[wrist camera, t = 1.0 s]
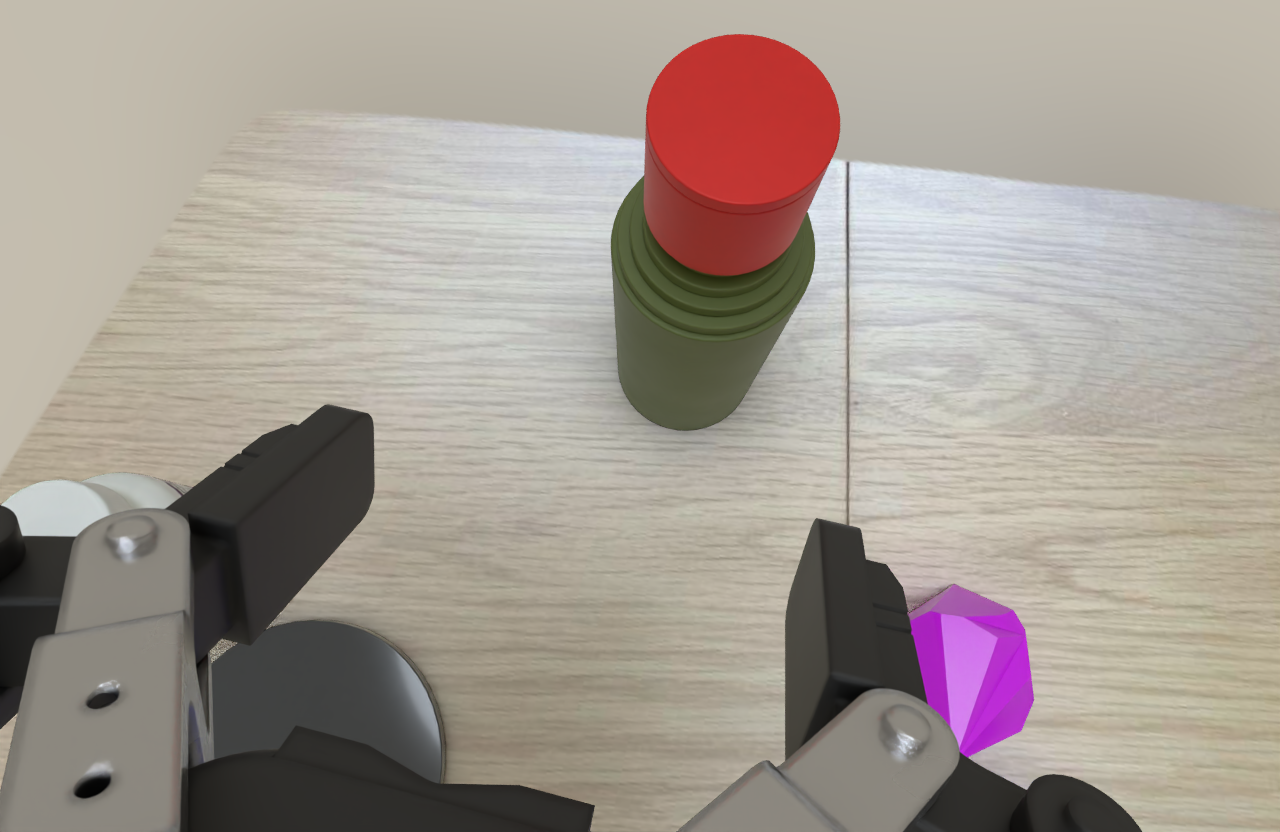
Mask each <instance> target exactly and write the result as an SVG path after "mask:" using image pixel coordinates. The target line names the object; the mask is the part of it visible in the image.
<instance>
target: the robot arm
mask: <svg viewBox="0 0 1280 832" xmlns="http://www.w3.org/2000/svg"><path fill="white" fill-rule="evenodd" d="M373 494H374V426H373V420H372V417H371V416H370V415H369V414H368V413H364V412H359V411H355V410H351V409H346V408H342V407H338V406H333V405H324V406H322V407H321V408H320V409H318V410H317V411H316V412H315V413H313V414H312V415H311V416H310V417H308V418H307V419H306V420H304V421H303V422H302V423H301V424H299V425H294V424H290V425H288V426H285V427H282V428H280V429H277V430H275V431H272V432H269V433H267V434H264V435H262V436H261V437H259V438H258V439H257V440H255V441H254V442H253V443H252V444H250V445H249V446H248V447H246V448H245V449H244V450H242V453H241V454H237V455H236V456H234V457H233V458H232V459H230V460H229V461H228V462H226V463H225V466H224V467H220V468H218V469H217V470H216V471H214V472H213V473H212V474H210V475H209V476H208V477H206V478H205V479H204V480H202V481H201V482H200V483H198V484H197V485H196V486H194V487H193V488H192V489H190V490H189V491H188V492H187V493H185V494H184V495H183V496H181V497H180V498H179V499H177V500H176V501H175V502H173V503H172V504H171V505H169V506H168V507H167V508H165V509H160V508H139V509H131V510H126V511H122V512H118V513H114V514H111V515H109V516H106V517H104V518H101V519H99V520H97V521H95V522H94V523H92V524H90V525H89V526H87V527H86V528H85V529H83V530H82V531H81V532H80V533H79V534H78V535H77V536H22V533H21V530H20V526H19V523H18V520H17V516H16V515H15V513H14V512H13V511H12V510H10V509H9V508H7V507H5V506H1V505H0V729H1V728H2V727H3V726H4V725H5V724H6V723H7V722H8V721H10V720H11V719H12V718H13V717H14V716H15V715H16V714H17V713H18V715H17V719H16V724H15V728H14V733H13V737H12V742H11V746H10V751H9V755H8V759H7V764H6V768H5V773H4V777H3V782H2V786H1V790H0V832H590V827H591V822H592V817H593V812H594V807H595V805H591V804H587V803H584V802H580V801H576V800H572V799H569V798H565V797H561V796H558V795H554V794H550V793H546V792H543V791H539V790H535V789H532V788H528V787H524V786H520V785H481V784H441V783H435V782H431V781H429V780H427V779H425V778H424V777H422V776H420V775H419V774H417V773H415V772H413V771H412V770H410V769H408V768H407V767H405V766H403V765H402V764H400V763H398V762H397V761H395V760H393V759H391V758H390V757H388V756H386V755H385V754H383V753H381V752H380V751H378V750H376V749H374V748H373V747H371V746H369V745H368V744H364V743H360V742H357V741H353V740H349V739H345V738H342V737H338V736H334V735H331V734H327V733H323V732H319V731H316V730H312V729H308V728H304V727H301V726H297V725H296V726H295V727H294V729H293V730H292V732H291V733H290V734H289V736H288V737H287V739H286V740H285V741H284V743H283V744H282V746H281V747H280V748H279V749H266V750H255V751H248V752H243V753H237V754H232V755H228V756H225V757H221V758H218V759H214V739H213V699H212V663H211V657H210V650H211V649H212V648H213V647H214V646H215V645H216V644H217V643H218V642H219V641H220V639H221V638H222V639H226V640H230V641H233V642H237V643H241V644H245V645H249V646H251V645H252V644H253V643H254V642H255V641H256V639H257V638H258V637H259V636H260V635H261V634H262V633H263V631H264V630H265V629H266V628H267V627H268V626H269V625H270V624H271V622H272V621H273V620H274V619H275V618H276V617H277V616H278V614H279V613H280V612H281V611H282V610H283V609H284V608H285V607H286V605H287V604H288V603H289V602H290V601H291V600H292V599H293V598H294V596H295V595H296V594H297V593H298V592H299V591H300V590H301V588H302V587H303V586H304V585H305V584H306V583H307V582H308V581H309V579H310V578H311V577H312V576H313V575H314V574H315V573H316V571H317V570H318V569H319V568H320V567H321V566H322V565H323V564H324V562H325V561H326V560H327V559H328V558H329V557H330V556H331V555H332V553H333V552H334V551H335V550H336V549H337V548H338V547H339V545H340V544H341V543H342V542H343V541H344V540H345V539H346V538H347V536H348V535H349V534H350V533H351V532H352V531H353V530H354V528H355V527H356V526H357V525H358V524H359V523H360V522H361V521H362V519H363V518H364V517H365V515H366V513H367V511H368V509H369V507H370V504H371V502H372V498H373ZM907 612H908V609H907V605H906V600H905V595H904V591H903V587H902V586H901V584H900V583H899V582H898V580H897V579H896V577H895V576H894V575H893V573H892V572H891V571H890V569H889V568H888V566H887V565H886V564H882V563H878V562H874V561H870V560H866V558H865V552H864V545H863V539H862V533H861V530H860V528H857V527H853V526H848V525H844V524H840V523H835V522H831V521H827V520H822V519H818V518H816V519H815V521H814V522H813V525H812V527H811V530H810V533H809V536H808V539H807V542H806V545H805V548H804V551H803V554H802V557H801V560H800V563H799V566H798V569H797V572H796V575H795V578H794V581H793V584H792V587H791V591H790V595H789V599H788V604H787V611H786V620H785V762H784V763H782V764H781V765H780V766H778V767H775V766H774V765H773V764H772V763H771V762H770V761H768V760H765V761H762V762H760V763H758V764H757V765H755V766H754V767H752V768H751V769H750V770H749V771H747V772H746V773H745V774H744V775H743V776H742V777H740V778H739V779H738V780H737V781H736V782H734V783H733V784H732V785H731V786H730V787H729V788H727V789H726V790H725V791H724V792H723V793H721V794H720V795H719V796H718V797H717V798H716V799H714V800H713V801H712V802H711V803H710V804H708V805H707V806H706V807H705V808H704V809H703V810H701V811H700V812H699V813H698V814H697V815H696V816H694V817H693V818H692V819H691V820H690V821H688V822H687V823H686V824H685V825H684V826H683V827H681V828H680V829H679V830H678V831H677V832H1142V831H1141V829H1140V828H1139V826H1138V825H1137V824H1136V822H1135V821H1134V820H1133V819H1132V817H1131V816H1130V815H1129V814H1128V813H1127V812H1126V811H1125V810H1124V809H1123V808H1122V807H1121V806H1120V805H1119V804H1117V803H1116V802H1115V801H1114V800H1113V799H1111V798H1110V797H1109V796H1107V795H1106V794H1105V793H1103V792H1102V791H1100V790H1098V789H1097V788H1095V787H1093V786H1092V785H1090V784H1087V783H1085V782H1083V781H1081V780H1078V779H1075V778H1073V777H1069V776H1064V775H1056V774H1052V775H1044V776H1041V777H1039V778H1037V779H1036V780H1034V781H1033V782H1032V784H1031V785H1030V786H1029V788H1028V789H1027V790H1025V789H1023V788H1022V787H1020V786H1018V785H1016V784H1014V783H1012V782H1010V781H1008V780H1006V779H1004V778H1002V777H1000V776H998V775H997V774H995V773H993V772H991V771H989V770H987V769H985V768H983V767H982V766H980V765H978V764H976V763H975V762H973V761H972V760H970V759H969V758H967V757H966V756H965V755H963V754H962V753H961V752H960V750H959V745H958V742H957V739H956V737H955V734H954V733H953V731H952V729H951V727H950V726H949V725H948V723H947V722H946V721H945V719H944V718H943V717H942V716H941V715H940V714H939V713H938V712H937V711H935V710H934V709H933V708H932V707H931V706H929V705H928V702H927V697H926V693H925V688H924V683H923V679H922V674H921V669H920V665H919V660H918V656H917V651H916V646H915V642H914V637H913V635H911V632H912V628H911V623H910V618H909V615H907Z"/></svg>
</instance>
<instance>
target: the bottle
mask: <svg viewBox="0 0 1280 832" xmlns="http://www.w3.org/2000/svg"><path fill="white" fill-rule="evenodd" d="M611 258H612V275H613V291H614V308H615V325H616V341H617V358H618V373H619V378H620V383H621V385H622V388H623V391H624V393H625V395H626V397H627V398H628V400H629V401H630V403H631V404H632V405H633V406H634V408H635V409H636V410H637V411H638V412H639V413H641V414H642V415H643V416H644V417H646V418H647V419H649V420H650V421H652V422H654V423H656V424H658V425H660V426H663V427H666V428H670V429H675V430H697V429H701V428H705V427H708V426H711V425H714V424H716V423H718V422H720V421H721V420H723V419H724V418H726V417H727V416H728V415H729V414H731V413H732V412H733V411H734V410H735V409H736V407H737V406H738V405H739V404H740V402H741V401H742V399H743V398H744V396H745V394H746V393H747V391H748V389H749V387H750V386H751V384H752V382H753V381H754V379H755V377H756V375H757V374H758V372H759V370H760V368H761V367H762V365H763V363H764V362H765V360H766V358H767V356H768V355H769V353H770V351H771V350H772V348H773V346H774V344H775V343H776V341H777V339H778V338H779V336H780V334H781V332H782V331H783V329H784V327H785V325H786V324H787V322H788V320H789V319H790V317H791V315H792V313H793V312H794V310H795V308H796V307H797V305H798V303H799V301H800V300H801V298H802V296H803V294H804V293H805V291H806V288H807V286H808V284H809V282H810V279H811V275H812V272H813V268H814V261H815V241H814V234H813V230H812V226H811V222H810V219H809V215H808V212H807V213H806V215H805V217H804V219H803V222H802V224H801V226H800V228H799V230H798V232H797V234H796V237H795V238H794V240H793V241H792V243H791V244H790V246H789V247H788V248H787V249H786V250H785V252H784V253H783V254H781V255H780V256H779V257H778V258H777V259H776V260H774V261H773V262H771V263H770V264H768V265H766V266H764V267H762V268H760V269H758V270H755V271H752V272H749V273H744V274H739V275H728V276H724V275H713V274H707V273H703V272H700V271H697V270H694V269H692V268H689V267H687V266H685V265H683V264H682V263H680V262H678V261H677V260H675V259H674V258H673V257H672V256H670V255H669V254H668V253H667V252H666V251H665V250H664V249H663V248H662V247H661V246H660V244H659V243H658V242H657V240H656V239H655V238H654V236H653V234H652V232H651V230H650V228H649V225H648V223H647V220H646V216H645V212H644V176H643V177H642V178H641V179H640V180H639V181H638V182H637V184H636V185H635V186H634V187H633V188H632V189H631V191H630V192H629V194H628V195H627V196H626V198H625V199H624V201H623V203H622V204H621V206H620V208H619V210H618V213H617V215H616V218H615V221H614V225H613V230H612V236H611Z"/></svg>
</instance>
